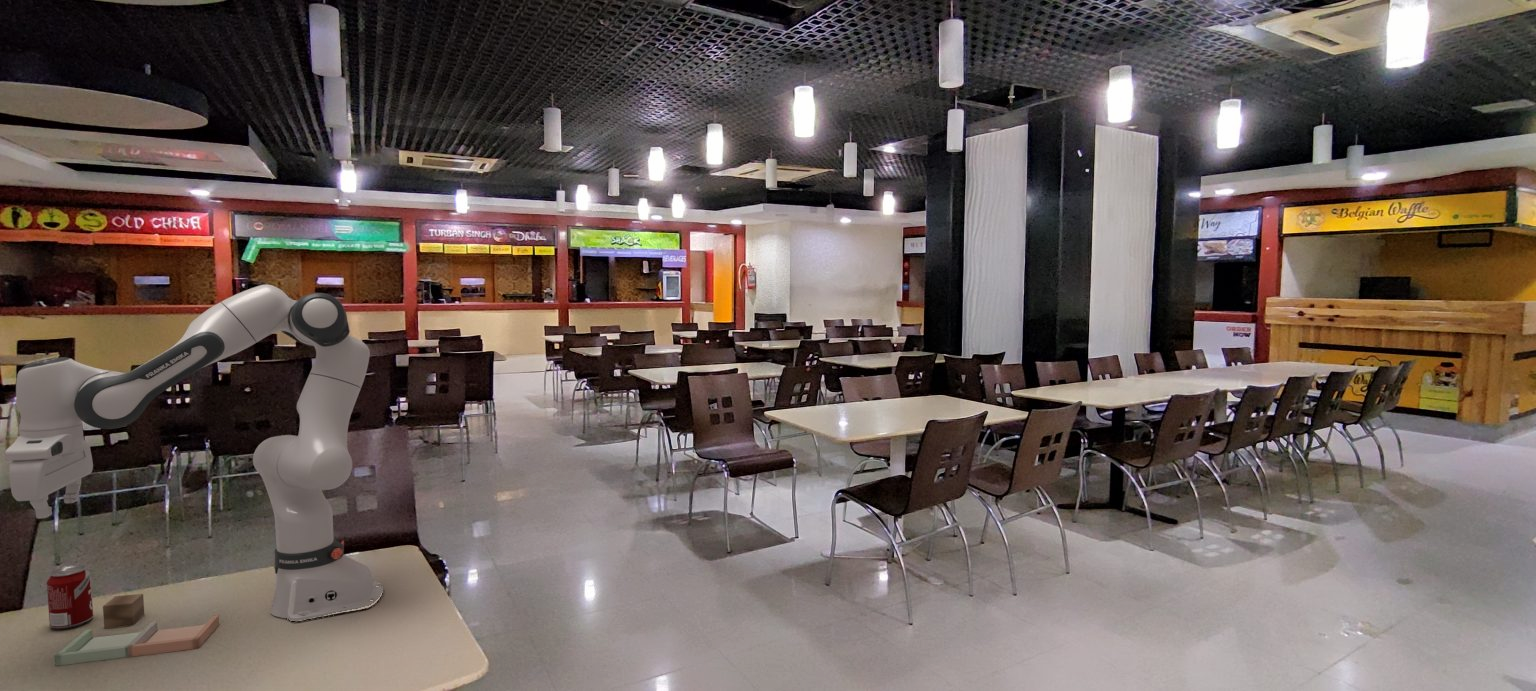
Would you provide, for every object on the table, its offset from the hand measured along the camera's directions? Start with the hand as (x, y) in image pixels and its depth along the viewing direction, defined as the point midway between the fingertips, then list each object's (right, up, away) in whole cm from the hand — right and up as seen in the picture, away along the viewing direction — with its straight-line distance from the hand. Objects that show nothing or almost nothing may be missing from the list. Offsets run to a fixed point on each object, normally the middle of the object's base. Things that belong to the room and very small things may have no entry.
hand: (58, 509), depth 143 cm
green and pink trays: (+12, -29, +6) cm, 31 cm away
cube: (+1, -28, +14) cm, 31 cm away
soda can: (-10, -28, +13) cm, 32 cm away
